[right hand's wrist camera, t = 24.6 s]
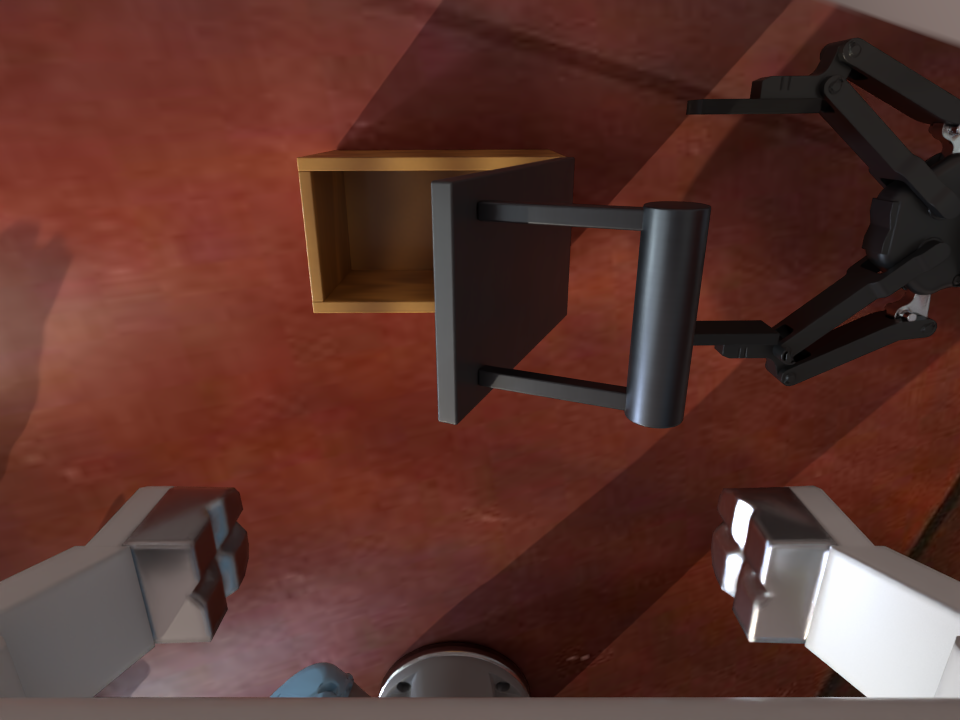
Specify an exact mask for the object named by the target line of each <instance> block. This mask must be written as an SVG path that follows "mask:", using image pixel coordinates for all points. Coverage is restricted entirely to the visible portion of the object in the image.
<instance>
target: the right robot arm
mask: <svg viewBox="0 0 960 720" xmlns="http://www.w3.org/2000/svg"><path fill="white" fill-rule="evenodd" d="M242 511H243V507H242V502H241V497H240V493H239V492H238V491H237V490H236V489H235V488H233V487H184V486H177V487H173V486H147V487H143V488H139V489H138V490H137V491H136V492H135V494H134V495H133V496H132V497H131V498H130V499H129V500H128V501H127V502H126V503H125V504H124V505H123V506H122V507H121V508H120V510H119V511H118V512H117V513H116V514H115V515H114V516H113V517H112V518H111V519H110V520H109V521H108V522H107V523H106V524H105V526H104V527H103V528H102V529H101V530H100V531H99V532H98V533H97V534H96V535H95V536H94V537H93V538H92V539H91V540H90V541H89V543H88V544H87V545H86V546H74V547H72V548H70V549H68V550H66V551H64V552H62V553H60V554H58V555H56V556H53V557H51V558H49V559H47V560H45V561H43V562H41V563H39V564H37V565H34V566H32V567H30V568H28V569H26V570H24V571H22V572H20V573H18V574H16V575H13V576H11V577H9V578H7V579H5V580H3V581H1V582H0V720H960V582H959V581H957V580H955V579H953V578H951V577H948V576H946V575H944V574H942V573H940V572H938V571H936V570H934V569H932V568H930V567H928V566H925V565H923V564H921V563H919V562H917V561H915V560H913V559H911V558H909V557H907V556H904V555H902V554H900V553H898V552H896V551H894V550H892V549H890V548H888V547H886V546H874V545H873V544H872V543H871V541H870V540H869V539H868V538H867V537H866V536H865V535H864V534H863V533H862V532H861V531H860V530H859V529H858V528H857V527H856V525H855V524H854V523H853V522H852V521H851V520H850V519H849V518H848V517H847V516H846V515H845V514H844V513H843V512H842V511H841V509H840V508H839V507H838V506H837V505H836V504H835V503H834V502H833V501H832V500H831V499H830V498H829V497H828V496H827V495H826V493H825V492H824V491H823V490H822V489H820V488H818V487H815V486H793V487H769V488H723V490H722V492H721V494H720V496H719V501H718V506H717V511H718V512H719V514H720V516H721V517H722V519H723V522H722V523H721V524H720V525H719V526H718V527H717V528H716V529H715V530H714V531H713V537H712V545H711V555H712V566H713V569H714V572H715V576H716V578H717V580H718V582H719V584H720V587H721V589H723V590H724V591H725V592H727V593H728V594H730V595H731V596H733V597H734V603H733V608H732V610H733V612H734V614H735V616H736V617H737V619H738V621H739V623H740V625H741V627H742V629H743V631H744V633H745V635H746V636H747V638H748V640H749V642H768V643H804V644H805V647H807V648H808V649H809V650H810V651H811V652H813V653H814V654H815V655H816V656H818V657H819V658H820V659H821V660H822V661H824V662H825V663H826V664H827V665H829V666H830V667H831V668H832V669H833V670H835V671H836V672H837V673H838V674H840V675H841V676H842V677H843V678H845V679H846V680H847V681H848V682H849V683H851V684H852V685H853V686H854V687H856V688H857V689H858V690H859V691H860V692H862V693H863V694H864V695H865V696H867V697H520V698H460V697H94V696H95V695H96V694H97V693H99V692H100V691H101V690H102V689H103V688H105V687H106V686H107V685H108V684H110V683H111V682H112V681H113V680H114V679H116V678H117V677H118V676H119V675H121V674H122V673H123V672H124V671H125V670H127V669H128V668H129V667H130V666H132V665H133V664H134V663H135V662H137V661H138V660H139V659H140V658H141V657H143V656H144V655H145V654H146V653H148V652H149V651H150V650H151V649H152V648H154V647H155V643H190V642H211V640H212V638H213V637H214V635H215V633H216V631H217V629H218V627H219V625H220V623H221V621H222V619H223V617H224V616H225V614H226V612H227V610H228V608H227V603H226V597H227V596H229V595H230V594H232V593H233V592H235V591H236V590H237V589H239V586H240V584H241V582H242V580H243V578H244V576H245V572H246V568H247V563H248V559H249V543H248V536H247V531H246V530H245V529H244V528H243V527H242V526H241V525H240V524H239V523H238V522H237V519H238V517H239V516H240V514H241V512H242Z"/></svg>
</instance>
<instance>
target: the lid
mask: <svg viewBox="0 0 960 720" xmlns="http://www.w3.org/2000/svg"><path fill="white" fill-rule="evenodd" d="M574 163H575V159H574V157H559V158H553V159H548V160H543V161H537V162H532V163H526V164H521V165H515V166H510V167H505V168H499V169H494V170H488V171H483V172H477V173H472V174H467V175H461V176H456V177H450V178H445V179H439V180H434V181H432V182H431V205H432V236H433V267H434V298H435V329H436V360H437V391H438V420H439V421H440V422H445V423H450V424H455V425H456V424H458V423H459V422H460V421H461V420H462V419H463V418H464V417H465V416H466V415H467V414H468V413H469V412H470V411H471V410H472V409H473V408H474V407H475V406H476V405H477V404H478V403H479V402H480V401H481V400H482V399H483V398H484V397H485V396H486V395H487V394H488V393H489V392H490V391H491V390H492V389H493V388H496V389H502V390H508V391H514V392H520V393H526V394H531V395H537V396H543V397H549V398H555V399H561V400H567V401H572V402H578V403H584V404H590V405H596V406H602V407H608V408H614V409H619V410H625V415H626V417H627V418H628V419H629V420H631V421H632V422H634V423H636V424H639V425H642V426H645V427H651V428H670V427H675V426H677V425H679V424H680V423H681V422H682V421H683V417H684V410H685V402H686V394H687V387H688V379H689V372H690V364H691V356H692V349H693V341H694V334H695V326H696V318H697V311H698V303H699V296H700V288H701V280H702V273H703V265H704V258H705V250H706V243H707V235H708V227H709V220H710V212H711V207H710V206H709V205H706V204H701V203H694V202H678V201H660V202H650V203H646V204H644V206H643V207H629V206H608V205H587V204H572V202H573V182H574ZM571 227H587V228H604V229H620V230H636V231H641V237H640V248H639V259H638V270H637V280H636V291H635V302H634V313H633V324H632V335H631V346H630V357H629V368H628V378H627V387H623V386H617V385H610V384H604V383H598V382H591V381H585V380H578V379H572V378H566V377H559V376H553V375H546V374H540V373H534V372H527V371H521V370H514V369H513V368H514V367H515V366H516V365H517V364H518V363H519V362H520V361H521V360H522V359H523V358H524V357H525V356H526V355H527V354H528V353H529V352H530V351H531V350H532V349H533V348H534V347H535V346H536V345H537V344H538V343H539V342H540V341H541V340H542V339H543V338H544V337H545V336H546V335H547V334H548V333H549V332H550V331H551V330H552V329H553V328H554V327H555V326H556V325H557V324H558V323H559V322H560V321H561V320H562V319H563V318H564V317H565V316H566V315H567V302H568V282H569V262H570V242H571Z"/></svg>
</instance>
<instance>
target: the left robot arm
mask: <svg viewBox="0 0 960 720" xmlns="http://www.w3.org/2000/svg"><path fill="white" fill-rule="evenodd" d="M846 79H848V80H849V81H851V82H853V83H854V84H856V85H858V86H859V87H861V88H863V89H864V90H866V91H868V92H869V93H871V94H872V95H874V96H876V97H877V98H879V99H881V100H882V101H884V102H886V103H887V104H889V105H891V106H892V107H894V108H896V109H897V110H899V111H901V112H902V113H904V114H906V115H907V116H909V117H911V118H913V119H915V120H917V121H919V122H922V123H926V124H931V125H930V127H929V132H930V133H931V134H932V136H933V137H934V138H935V139H938V140H940V141H941V143H942V146H943V149H942V152H941V153H938V154H936V155H934V156H932V157H930V158H929V159H927V160H926V161H923V160H922V159H921V158H919V157H917V156H915V155H913V154H912V153H911V152H910V151H909V150H908V149H907V148H906V146H905V145H904V144H903V143H902V142H901V141H900V140H899V139H898V138H897V136H896V135H895V134H894V133H893V132H892V131H891V130H890V129H889V127H888V126H887V125H886V124H885V123H884V122H883V121H882V120H881V118H880V117H879V116H878V115H877V114H876V113H875V112H874V111H873V110H872V108H871V107H870V106H869V105H868V104H867V103H866V102H865V101H864V99H863V98H862V97H861V96H860V95H859V94H858V93H857V92H856V90H855V89H854V88H853V87H852V86H851V85H850V84H849V83H848V82H847V80H846ZM796 113H819V114H820V115H821V116H822V117H823V118H824V119H825V120H826V121H827V122H828V123H829V125H830V126H831V127H832V128H833V129H834V130H835V131H836V132H837V133H838V134H839V135H840V136H841V138H842V139H843V140H844V141H845V142H846V143H847V144H848V145H849V146H850V147H851V148H852V149H853V150H854V152H855V153H856V154H857V155H858V156H859V157H860V158H861V159H862V160H863V161H864V162H865V163H866V165H867V166H868V167H869V172H870V173H871V175H872V176H873V177H874V178H875V179H876V180H877V181H878V182H879V183H880V184H881V185H882V186H883V188H884V189H883V190H882V191H881V192H880V194H879V195H878V197H877V198H873V200H872V204H871V209H870V221H871V223H870V226H869V228H868V230H867V232H866V234H865V236H864V240H863V245H862V248H863V249H866V254H867V256H865V257H864V258H862V259H861V260H860V261H858V262H857V263H855V264H854V265H853V266H851V267H850V268H849V269H848V270H847V274H846V275H845V276H844V277H843V278H841V279H840V280H838V281H837V282H835V283H834V284H833V285H831V286H830V287H828V288H827V289H826V290H824V291H823V292H821V293H820V294H819V295H817V296H816V297H814V298H813V299H812V300H810V301H809V302H807V303H806V304H805V305H803V306H802V307H800V308H799V309H798V310H796V311H795V312H793V313H792V314H790V315H789V316H788V317H786V318H785V319H783V320H782V321H781V322H779V323H778V324H776V325H775V326H774V327H772V328H771V327H770V326H768V325H767V324H766V323H764V322H763V321H761V320H752V321H696V326H695V334H694V341H693V345H715V349H716V350H717V351H718V352H719V353H720V354H721V355H722V356H725V357H728V358H766V360H767V361H766V364H765V367H766V369H767V370H768V371H769V372H770V373H771V374H772V375H774V376H775V377H776V378H777V379H778V380H779V381H780V382H782V383H783V384H784V385H786V386H792V385H795V384H797V383H800V382H802V381H804V380H807V379H809V378H811V377H814V376H816V375H818V374H821V373H823V372H825V371H828V370H830V369H832V368H835V367H837V366H839V365H842V364H844V363H847V362H849V361H851V360H854V359H856V358H858V357H861V356H863V355H865V354H868V353H870V352H872V351H875V350H877V349H879V348H882V347H884V346H886V345H889V344H891V343H894V342H896V341H898V340H905V339H914V338H923V337H928V336H931V335H932V334H933V333H934V332H935V331H936V328H937V323H936V322H935V321H934V320H932V319H930V318H928V317H927V316H928V310H929V303H930V297H931V294H933V293H935V292H937V291H939V290H941V289H944V288H948V287H960V99H958V98H956V97H955V96H953V95H952V94H950V93H948V92H947V91H945V90H943V89H942V88H940V87H939V86H937V85H935V84H934V83H932V82H931V81H929V80H927V79H926V78H924V77H922V76H921V75H919V74H918V73H916V72H914V71H913V70H911V69H910V68H908V67H906V66H905V65H903V64H901V63H900V62H898V61H897V60H895V59H893V58H892V57H890V56H888V55H887V54H885V53H884V52H882V51H880V50H879V49H877V48H876V47H874V46H872V45H871V44H869V43H867V42H866V41H864V40H863V39H860V38H853V39H848V40H843V41H839V42H835V43H830V44H828V45H826V46H825V47H824V48H823V49H822V51H821V53H820V63H819V65H818V67H817V68H816V70H815V71H814V72H813V73H812V74H811V75H809V76H770V77H764V78H760V79H758V80H755V81H753V82H752V88H751V95H750V99H701V100H691V101H688V103H687V112H686V115H687V114H796ZM879 271H882V272H883V273H882V274H878V272H879ZM900 288H902V289H904V290H906V292H905V295H904V297H903V298H902V299H901V300H899V301H897V302H894V303H888V304H886V306H885V311H879V312H875V313H871V314H869V315H866V316H863V317H861V318H859V319H857V320H854V321H852V322H850V323H847V324H845V325H843V326H841V327H838V328H836V329H834V328H835V327H837V326H838V325H840V324H841V323H843V322H844V321H846V320H847V319H848V318H850V317H851V316H853V315H854V314H856V313H857V312H859V311H860V310H861V309H863V308H864V307H866V306H867V305H869V304H870V303H872V302H873V301H874V300H876V299H878V298H883V297H887V296H889V295H891V294H893V293H894V292H896V291H897V290H899V289H900ZM833 329H834V330H833ZM270 697H371V696H369V695H368V694H367V693H365V692H364V691H363V690H362V689H361V688H360V687H359V686H358V685H357V684H356V683H355V682H354V679H353V676H352V675H351V674H349V673H347V674H346V673H344V672H343V671H342V670H340V669H339V668H338V667H336V666H335V665H333V664H331V663H316V664H313V665H311V666H308V667H306V668H304V669H303V670H301V671H299V672H298V673H296V674H295V675H294V676H292V677H291V678H290V679H289V680H287V681H286V682H285V683H284V684H283V685H282V686H281V687H280V688H278V689H277V690H276V691H275V692H274V693H273V694H272V695H271V696H270ZM379 697H460V698H520V697H531V695H530V689H529V685H528V683H527V680H526V678H525V676H524V675H523V673H522V672H521V671H520V669H519V668H518V667H517V666H516V665H515V664H514V663H513V662H512V661H510V660H509V659H508V658H506V657H505V656H503V655H502V654H500V653H498V652H496V651H494V650H492V649H489V648H486V647H483V646H479V645H475V644H470V643H461V642H448V643H438V644H433V645H429V646H425V647H422V648H419V649H417V650H415V651H412V652H410V653H409V654H407V655H405V656H404V657H402V658H401V659H399V660H398V661H397V662H396V663H395V664H394V665H393V666H392V667H391V668H390V669H389V671H388V672H387V673H386V675H385V677H384V679H383V681H382V684H381V688H380V693H379Z"/></svg>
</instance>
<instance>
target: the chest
mask: <svg viewBox="0 0 960 720" xmlns="http://www.w3.org/2000/svg"><path fill="white" fill-rule="evenodd" d="M559 157H566V156H563V155H561V154H558V153H556V152H553V151H551V150H548V149H534V150H334V151H329V152H323V153H318V154H313V155H308V156H303V157H298V158H297V164H298V171H299V181H300V190H301V200H302V209H303V218H304V227H305V237H306V246H307V255H308V264H309V274H310V283H311V292H312V301H313V312H314V313H417V312H435V298H434V267H433V236H432V205H431V182H432V181H434V180H439V179H445V178H450V177H456V176H461V175H467V174H472V173H477V172H483V171H488V170H494V169H499V168H505V167H510V166H515V165H521V164H526V163H532V162H537V161H543V160H548V159H553V158H559Z"/></svg>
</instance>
